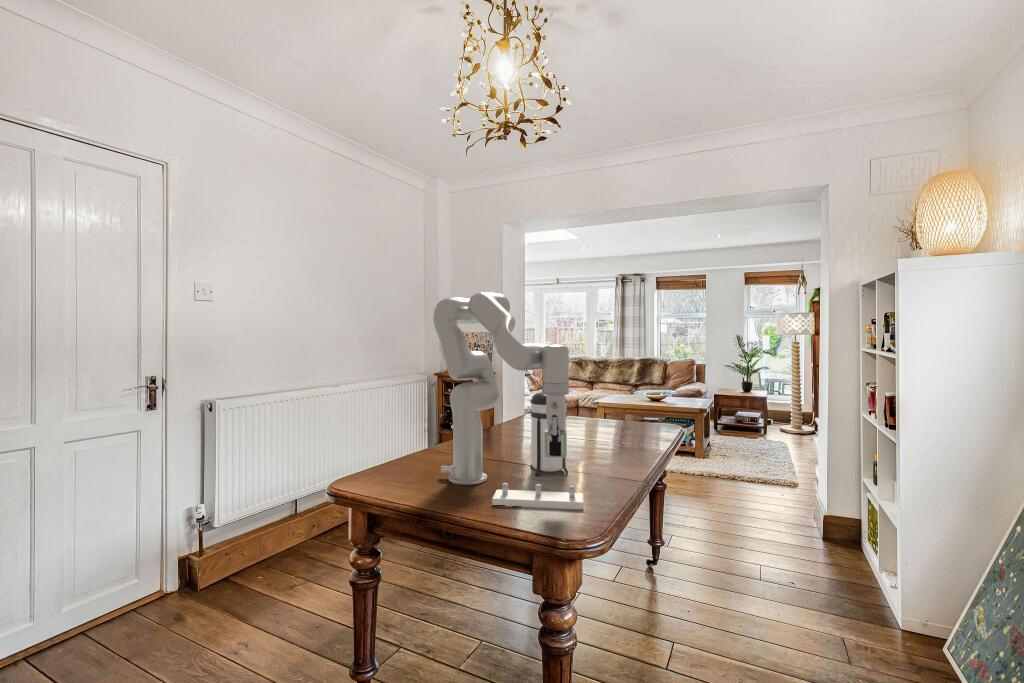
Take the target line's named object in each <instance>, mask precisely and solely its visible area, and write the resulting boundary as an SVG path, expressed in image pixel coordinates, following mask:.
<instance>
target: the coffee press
mask: <svg viewBox="0 0 1024 683" xmlns="http://www.w3.org/2000/svg"><path fill="white" fill-rule="evenodd" d="M529 402H530V404H531V406H530V407H531V410H530V417H531V418H530V420H531V422H530V424H531V425H530V426H531V437H530V438H531V439H530V440H531V442H530V444H531V445H530V446H531V455H530V456H531V463H530V465H529V467H530V469H531V468H534V469H535V472H534V475H535V477H541V475H542V473H543V472H549V473H550V472H560V473H561V474H562V475H563V476H567V475H568V474H569V471H568V469H567V467H566V466H567V457H566V458H556V457H545V430H548V428H547V413H546V395H544V394H542V391H540V392H537V393H535V394H533V396H532V397H531V399H530V400H529ZM565 402H566V405H567V404H568V400H567V397H566V396H565ZM567 417H568V411H567V410H566V418H567ZM552 422H553V421H552ZM565 430H567V427H566V428H565ZM564 474H566V475H564Z"/></svg>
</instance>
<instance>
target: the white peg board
mask: <svg viewBox="0 0 1024 683" xmlns="http://www.w3.org/2000/svg"><path fill="white" fill-rule="evenodd" d="M501 485H502V486H501V489H496V491H494V492H495V493H494V495H492V502H491V503H492V505H505V506H504V507H512V506H522V507H521V508H535V509H536V508H541V509H558V510H559V509H561V510H579V509H583V510H584V493H583V492H576V485H569V486H568V488H569V489H568V491H569V492H567V491H565V492H564V491H544V490H543V491H542V484H539V483H537V484H535V490H520V489H519V490H517V489H509V483H508V482H504V483H501Z"/></svg>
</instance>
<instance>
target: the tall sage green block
mask: <svg viewBox="0 0 1024 683" xmlns="http://www.w3.org/2000/svg"><path fill="white" fill-rule="evenodd" d="M557 433H558V432H557ZM567 434H568V433H567V429H566V430H564V431H563V430H560V441H561V456H550V455H549V441H550V431H549V430H545V457H556V458H566V459H567V456H568V455H567V453H568V451H567V443H568V442H567Z"/></svg>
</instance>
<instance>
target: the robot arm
mask: <svg viewBox="0 0 1024 683" xmlns="http://www.w3.org/2000/svg"><path fill="white" fill-rule="evenodd" d="M433 311H434V312H433V315H432V316H433V327H434V329H435V331H436V334H437V336H438V338H439V342H440V344H441V350H442V353H443V358H444V360H445V366H446V369H447V373H448V375H449V377H450V378H451V379H452V380H455V381H467V380H472V382H463V383H460V384H457V385H456V386H454V387H453V388H452V389H451V392H450V394H449V403H450V408H451V413H452V415H451V416H452V432H453V433H452V434H453V435H452V437H453V438H452V440H453V441H452V442H453V443H452V445H453V446H452V447H453V450H452V458H453V459H452V465H450V466H447V465H441V467H440V472H441V473H442V474H449V475H448V481H449V482H450V483H451V482H452V484H455V485H459V484H460V486H462V485H463V486H471V485H479V484H482V483H484V482H486V481H487V480H488V475H487V474H486V473H485V472H483V423H482V419H481V417H480V415H479V413H478V412H479V411H484V410H489V409H492V408H494V407H496V405H497V404H498V402H499V399H500V396H499V394H500V392H499V388H498V384H497V379H496V377H495V372H494V368H493V365H492V361H491V360H490V357H489V356H488V355H487V354H486V353H485V352H483V351H481V350H480V351H479V350H470V348H469V345H468V342H467V337H466V335H465V334H464V332H463V331H462V329H461V327H459V326H458V324H481V325H482V326H483V327H484V328H485V329H486V330H487V331H488V333H490V334H491V335H492V336H493V344H494V348H495V351H496V353H497V354H498V355H499V357H501V359H502V360H503V361H504V362H505V363H506V364H507V365H508V366H510V367H511V368H512V369H514V370H516V371H521V372H522V371H535V370H541V392H542V394H544V395H546V413H547V428H548V430H549V431H550V441H549V455H550V456H561V441H560V430H563V431H564V430H565V428H566V429H567V417H566V411H567V404H566V402H565V397H566V396H567V395H570V386H569V385H570V384H569V382H570V377H569V376H570V375H569V374H570V370H569V368H570V363H569V362H570V360H569V358H570V355H569V354H570V351H569V348H568V346H567V345H565V344H543V343H521V342H520V341H519V340H518V339H517V338H516V337H515V336H514V335H513V334H512V332H513V331H514V329H515V326H516V318H515V317H514V316H513V315H512V314H511V313H510V311H511V304H510V301H509V299H508V297H506V295H503V294H501V293H499V292H498V293H496V292H488V291H487V292H486V291H484V292H483V291H481V292H476V293H474V294H473V295H471V296H470V298H467V297H453V296H452V297H446V298H443V299H441V300H439V302H437V303H436V305H435V308H434V310H433ZM552 421H553V422H552ZM557 432H558V433H557Z"/></svg>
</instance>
